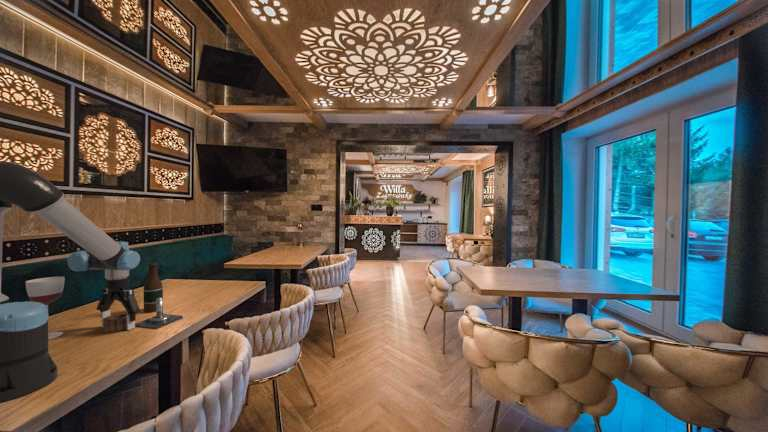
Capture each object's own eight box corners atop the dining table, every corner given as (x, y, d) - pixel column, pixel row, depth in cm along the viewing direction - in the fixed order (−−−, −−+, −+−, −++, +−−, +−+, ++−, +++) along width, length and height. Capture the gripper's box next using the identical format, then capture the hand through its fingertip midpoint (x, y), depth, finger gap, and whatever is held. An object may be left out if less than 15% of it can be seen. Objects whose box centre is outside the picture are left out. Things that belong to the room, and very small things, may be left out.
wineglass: (23, 339, 111) (22, 280, 110) (61, 329, 120) (60, 275, 119) (30, 344, 106) (29, 283, 106) (69, 334, 115) (68, 278, 115)
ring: (114, 333, 116) (114, 321, 116) (97, 331, 118) (97, 319, 118) (137, 324, 125) (137, 313, 125) (121, 323, 126) (121, 312, 126)
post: (157, 328, 121) (157, 302, 121) (135, 326, 123) (134, 300, 123) (182, 318, 133) (182, 294, 132) (161, 316, 135) (161, 293, 135)
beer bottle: (146, 308, 145) (145, 262, 145) (165, 306, 148) (164, 261, 148) (140, 313, 138) (140, 265, 138) (160, 311, 141) (160, 263, 141)
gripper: (150, 277, 122) (150, 326, 123) (104, 274, 127) (105, 321, 127) (131, 281, 115) (132, 333, 115) (84, 278, 119) (85, 328, 120)
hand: (118, 327), depth 121 cm, fingers open, 12 cm apart
